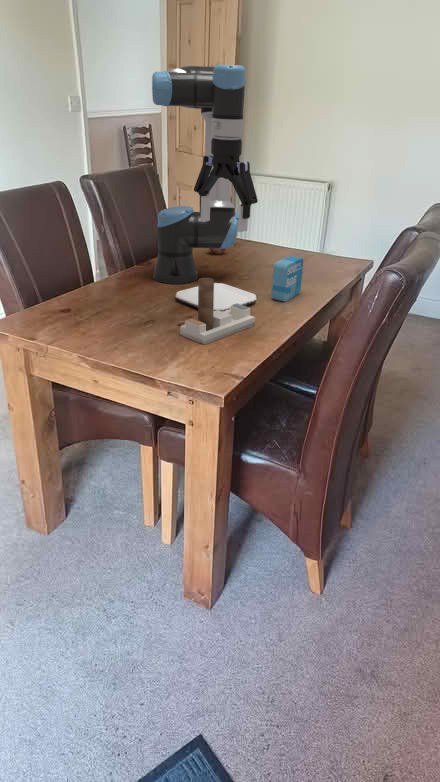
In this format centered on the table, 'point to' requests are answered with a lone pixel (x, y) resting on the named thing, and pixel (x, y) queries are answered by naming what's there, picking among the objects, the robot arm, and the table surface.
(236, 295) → the plate
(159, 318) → the table surface
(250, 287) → the table surface
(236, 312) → the socket block
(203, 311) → the dowel
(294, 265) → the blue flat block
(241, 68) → the robot arm
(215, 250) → the fruit
